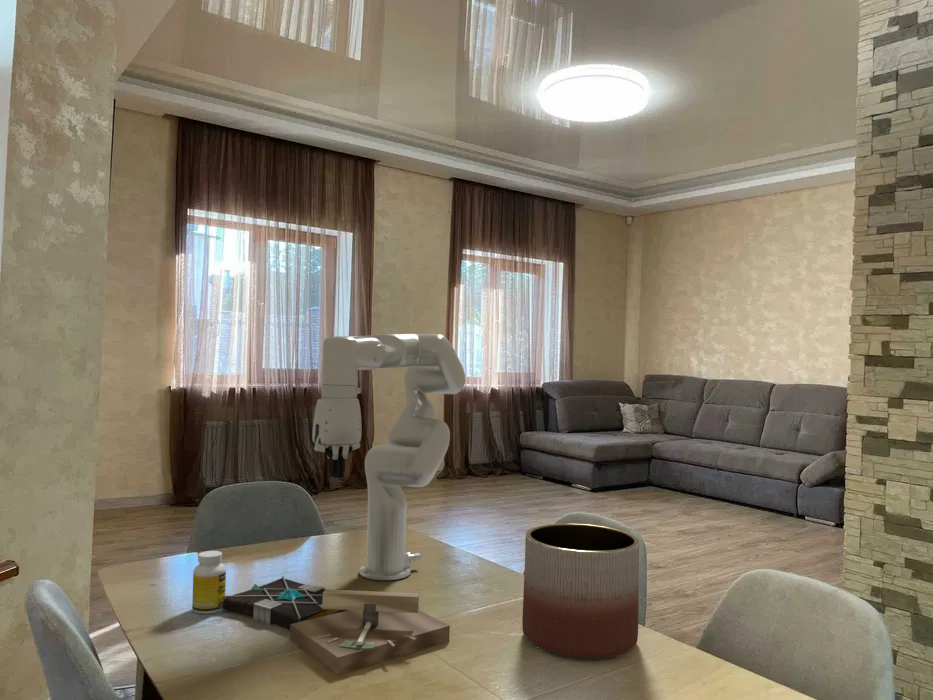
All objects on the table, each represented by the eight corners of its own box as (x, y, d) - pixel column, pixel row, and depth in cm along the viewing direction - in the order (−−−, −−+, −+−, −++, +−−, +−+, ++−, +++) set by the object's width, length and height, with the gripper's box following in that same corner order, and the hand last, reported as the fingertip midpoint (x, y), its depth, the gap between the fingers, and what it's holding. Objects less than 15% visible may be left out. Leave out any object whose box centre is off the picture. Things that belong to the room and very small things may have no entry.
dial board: (396, 613, 149) (396, 598, 149) (455, 644, 134) (455, 627, 134) (289, 640, 134) (290, 623, 134) (342, 679, 119) (343, 659, 119)
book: (221, 613, 148) (222, 589, 148) (281, 591, 162) (282, 569, 162) (298, 637, 136) (299, 611, 137) (355, 611, 151) (356, 587, 151)
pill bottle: (215, 616, 145) (217, 559, 145) (185, 613, 146) (187, 557, 146) (230, 605, 151) (232, 550, 151) (202, 603, 152) (203, 548, 152)
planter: (568, 610, 153) (570, 517, 154) (659, 642, 138) (662, 538, 138) (498, 637, 138) (501, 533, 138) (592, 676, 122) (595, 559, 122)
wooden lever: (325, 618, 136) (326, 588, 136) (418, 622, 136) (419, 592, 136) (308, 643, 124) (309, 611, 124) (410, 648, 124) (411, 615, 124)
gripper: (359, 391, 163) (357, 471, 163) (299, 392, 154) (297, 477, 154) (377, 393, 158) (375, 476, 157) (316, 394, 148) (313, 482, 148)
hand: (336, 476), depth 156 cm, fingers closed
